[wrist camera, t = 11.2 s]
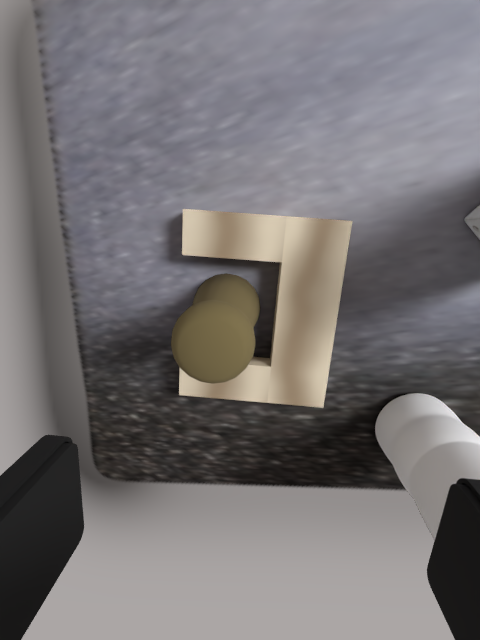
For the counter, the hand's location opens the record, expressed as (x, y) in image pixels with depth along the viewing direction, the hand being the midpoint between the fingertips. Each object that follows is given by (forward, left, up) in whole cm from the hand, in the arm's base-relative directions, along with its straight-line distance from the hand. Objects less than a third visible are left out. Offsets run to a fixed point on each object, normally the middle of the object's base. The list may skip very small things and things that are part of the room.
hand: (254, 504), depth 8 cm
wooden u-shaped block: (0, 0, -22) cm, 22 cm away
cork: (+3, 0, -22) cm, 22 cm away
